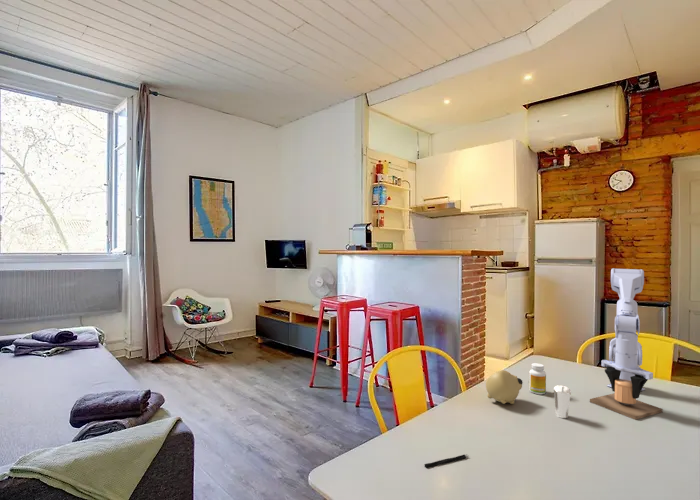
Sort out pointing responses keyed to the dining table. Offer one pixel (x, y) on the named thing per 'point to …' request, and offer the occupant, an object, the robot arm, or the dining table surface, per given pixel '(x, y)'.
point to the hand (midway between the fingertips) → (625, 394)
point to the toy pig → (503, 386)
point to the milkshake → (562, 400)
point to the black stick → (445, 461)
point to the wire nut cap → (624, 391)
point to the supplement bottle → (537, 379)
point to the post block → (626, 407)
